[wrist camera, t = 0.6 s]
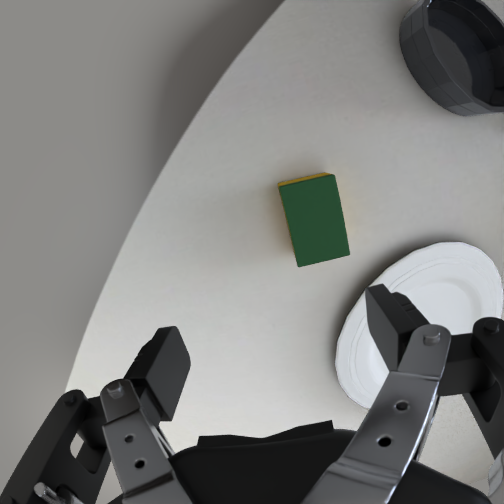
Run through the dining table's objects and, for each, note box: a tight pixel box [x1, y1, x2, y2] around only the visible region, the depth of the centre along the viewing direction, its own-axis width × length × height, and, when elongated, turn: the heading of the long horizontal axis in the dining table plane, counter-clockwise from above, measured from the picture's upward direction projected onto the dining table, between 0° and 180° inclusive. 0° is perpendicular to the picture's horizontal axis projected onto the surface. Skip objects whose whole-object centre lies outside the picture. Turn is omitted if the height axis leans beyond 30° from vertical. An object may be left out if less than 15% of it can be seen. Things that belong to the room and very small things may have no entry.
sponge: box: [278, 173, 350, 267], centre depth 22 cm, size 6×4×4 cm, turn 15°
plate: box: [335, 242, 503, 409], centre depth 26 cm, size 21×21×2 cm
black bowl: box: [400, 0, 504, 116], centre depth 16 cm, size 12×12×5 cm
